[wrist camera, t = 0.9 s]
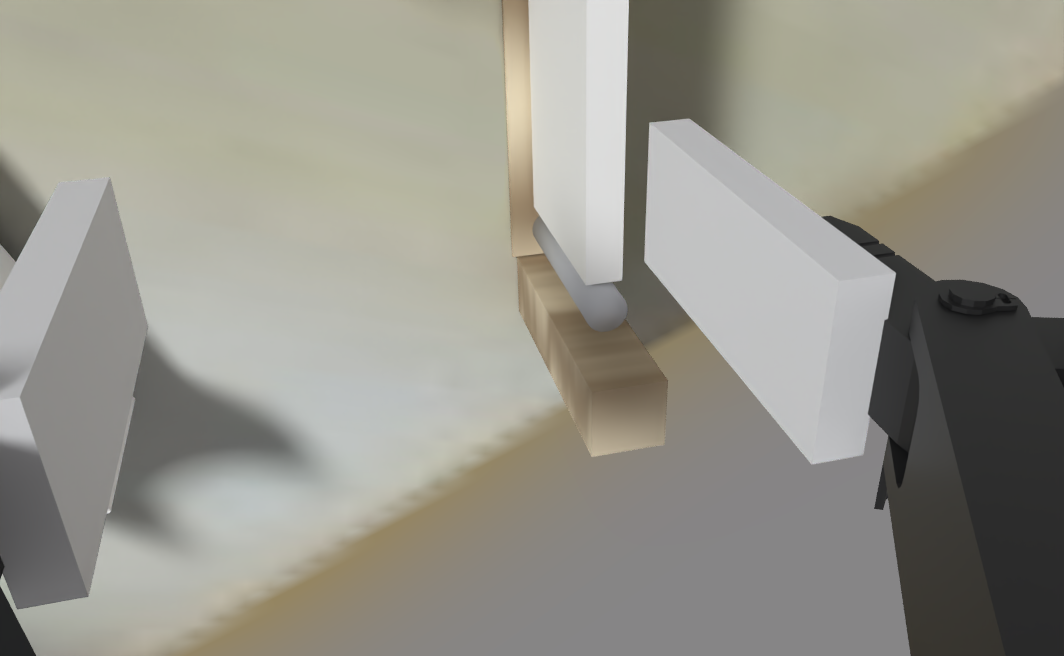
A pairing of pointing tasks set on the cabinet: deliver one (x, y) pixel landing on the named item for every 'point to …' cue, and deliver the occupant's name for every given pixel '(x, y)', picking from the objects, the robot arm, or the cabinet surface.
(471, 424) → the cabinet surface
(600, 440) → the door frame
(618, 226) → the door
